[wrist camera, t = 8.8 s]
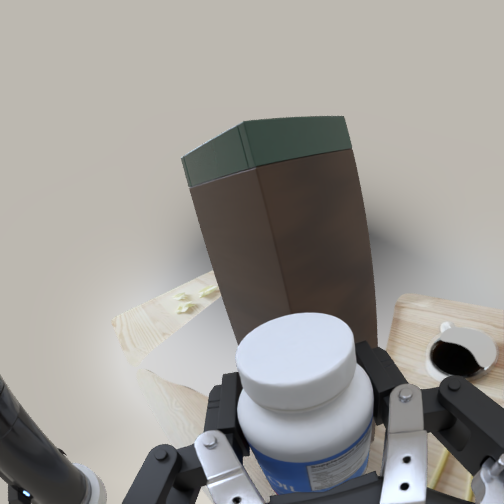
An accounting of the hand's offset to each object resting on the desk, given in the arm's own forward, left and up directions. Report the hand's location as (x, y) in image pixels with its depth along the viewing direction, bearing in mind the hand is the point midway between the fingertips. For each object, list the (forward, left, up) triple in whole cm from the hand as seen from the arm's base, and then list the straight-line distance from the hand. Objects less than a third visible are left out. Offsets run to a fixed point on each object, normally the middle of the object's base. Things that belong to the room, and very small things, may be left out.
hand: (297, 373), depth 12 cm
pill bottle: (-2, -2, -6) cm, 7 cm away
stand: (+5, +4, -18) cm, 19 cm away
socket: (+5, +4, +9) cm, 11 cm away
